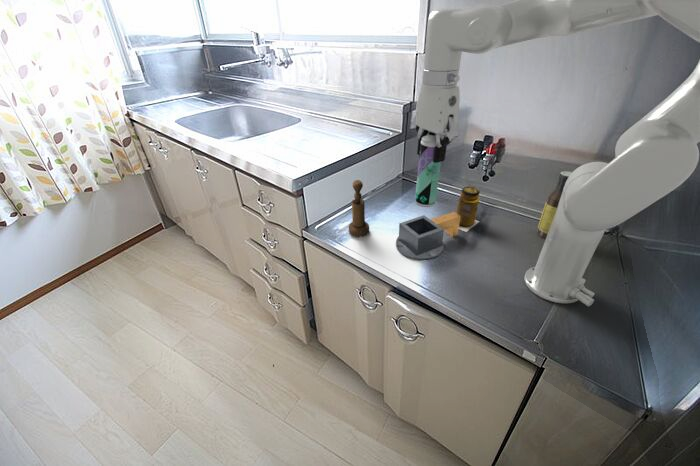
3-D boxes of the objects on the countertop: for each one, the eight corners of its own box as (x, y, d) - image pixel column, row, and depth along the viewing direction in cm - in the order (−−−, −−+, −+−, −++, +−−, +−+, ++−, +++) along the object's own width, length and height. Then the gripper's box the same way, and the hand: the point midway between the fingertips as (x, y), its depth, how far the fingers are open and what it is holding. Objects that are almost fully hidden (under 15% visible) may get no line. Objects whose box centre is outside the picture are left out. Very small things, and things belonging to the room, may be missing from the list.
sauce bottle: (562, 241, 94) (587, 179, 83) (539, 240, 95) (561, 178, 84) (554, 229, 99) (577, 169, 88) (532, 228, 100) (552, 169, 89)
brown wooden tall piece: (346, 235, 101) (343, 184, 91) (352, 225, 106) (349, 175, 96) (366, 238, 99) (365, 186, 89) (371, 227, 105) (371, 177, 94)
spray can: (423, 195, 90) (431, 123, 79) (439, 202, 86) (450, 128, 75) (410, 202, 87) (417, 128, 76) (426, 209, 84) (436, 133, 72)
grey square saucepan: (470, 244, 95) (474, 224, 91) (414, 266, 87) (416, 245, 84) (439, 222, 105) (441, 204, 101) (387, 240, 98) (387, 221, 94)
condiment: (479, 222, 105) (486, 189, 98) (466, 232, 100) (472, 198, 93) (459, 214, 109) (465, 182, 103) (446, 224, 105) (450, 191, 98)
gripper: (482, 81, 64) (466, 166, 74) (428, 71, 77) (421, 145, 87) (454, 86, 61) (441, 172, 72) (403, 75, 74) (398, 150, 84)
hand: (430, 156), depth 79 cm, fingers closed on spray can, 5 cm apart
